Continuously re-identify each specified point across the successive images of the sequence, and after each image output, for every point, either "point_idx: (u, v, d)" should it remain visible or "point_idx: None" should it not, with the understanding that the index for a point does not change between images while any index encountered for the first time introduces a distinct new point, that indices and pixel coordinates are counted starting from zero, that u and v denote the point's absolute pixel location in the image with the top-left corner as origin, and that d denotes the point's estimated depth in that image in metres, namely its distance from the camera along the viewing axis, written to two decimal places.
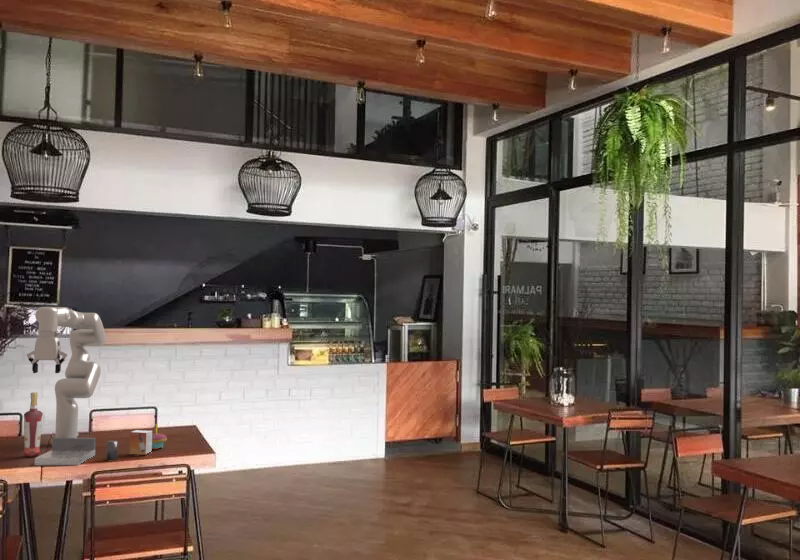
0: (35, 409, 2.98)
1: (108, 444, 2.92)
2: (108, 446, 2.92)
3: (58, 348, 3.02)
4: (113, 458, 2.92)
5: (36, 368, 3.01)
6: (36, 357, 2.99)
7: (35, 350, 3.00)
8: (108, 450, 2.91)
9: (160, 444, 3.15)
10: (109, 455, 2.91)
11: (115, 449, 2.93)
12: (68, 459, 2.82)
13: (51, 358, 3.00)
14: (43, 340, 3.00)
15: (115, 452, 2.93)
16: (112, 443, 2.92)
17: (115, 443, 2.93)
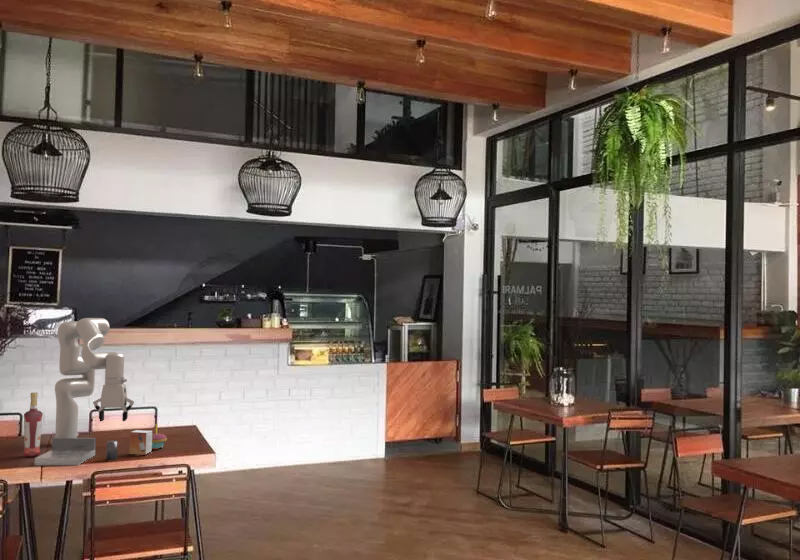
0: (35, 409, 2.98)
1: (108, 444, 2.92)
2: (108, 446, 2.92)
3: (125, 395, 2.94)
4: (113, 458, 2.92)
5: (102, 416, 2.94)
6: (103, 405, 2.92)
7: (102, 398, 2.92)
8: (108, 450, 2.91)
9: (160, 444, 3.15)
10: (109, 455, 2.91)
11: (115, 449, 2.93)
12: (68, 459, 2.82)
13: (118, 406, 2.92)
14: (110, 387, 2.92)
15: (115, 452, 2.93)
16: (112, 443, 2.92)
17: (115, 443, 2.93)
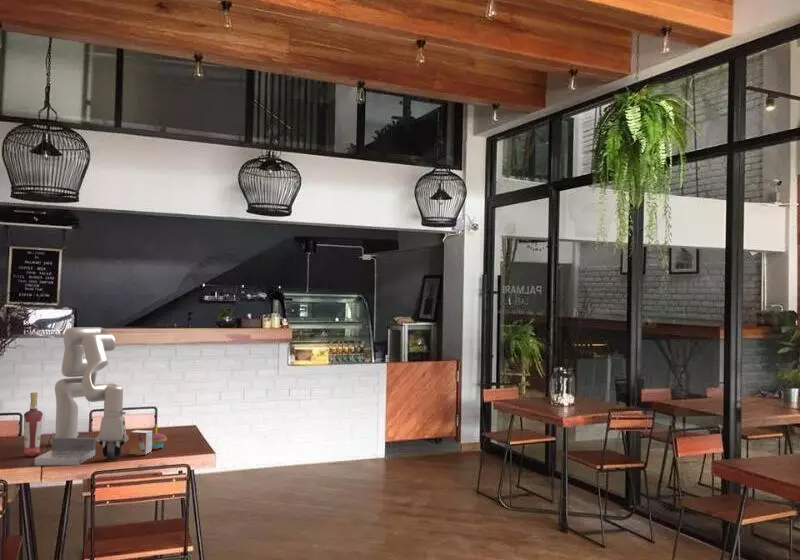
0: (35, 409, 2.98)
1: (108, 444, 2.92)
2: (108, 446, 2.92)
3: (123, 428, 2.94)
4: (113, 458, 2.92)
5: None
6: (102, 438, 2.91)
7: (100, 430, 2.91)
8: (108, 450, 2.91)
9: (160, 444, 3.15)
10: (109, 455, 2.91)
11: (115, 449, 2.93)
12: (68, 459, 2.82)
13: (117, 439, 2.92)
14: (109, 420, 2.91)
15: (115, 452, 2.93)
16: (112, 443, 2.92)
17: (115, 443, 2.93)
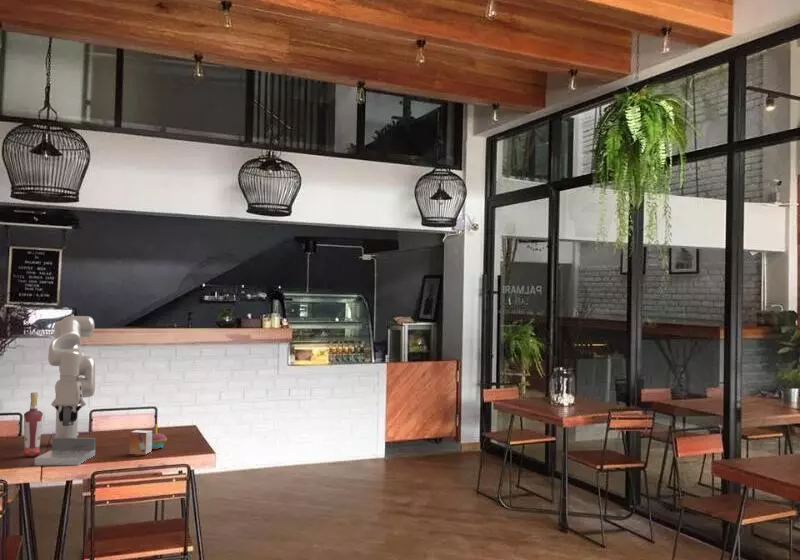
0: (35, 409, 2.98)
1: (64, 409, 2.90)
2: (64, 411, 2.90)
3: (80, 393, 2.92)
4: (69, 423, 2.90)
5: None
6: (57, 402, 2.90)
7: (56, 395, 2.90)
8: (64, 415, 2.90)
9: (160, 444, 3.15)
10: (65, 420, 2.90)
11: (71, 414, 2.91)
12: (68, 459, 2.82)
13: (73, 403, 2.90)
14: (65, 385, 2.90)
15: (71, 417, 2.91)
16: (68, 408, 2.90)
17: (71, 408, 2.91)
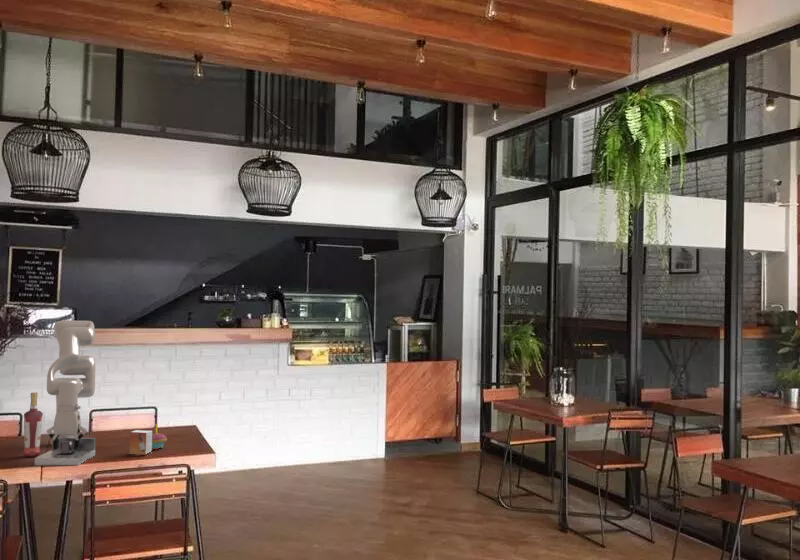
0: (35, 409, 2.98)
1: (62, 444, 2.89)
2: (62, 446, 2.89)
3: (78, 422, 2.92)
4: None
5: (57, 444, 2.91)
6: (56, 432, 2.89)
7: (55, 425, 2.89)
8: (62, 450, 2.89)
9: (160, 444, 3.15)
10: None
11: (69, 449, 2.90)
12: (68, 459, 2.82)
13: (71, 433, 2.90)
14: (63, 415, 2.89)
15: (69, 452, 2.90)
16: (66, 444, 2.89)
17: (69, 443, 2.90)
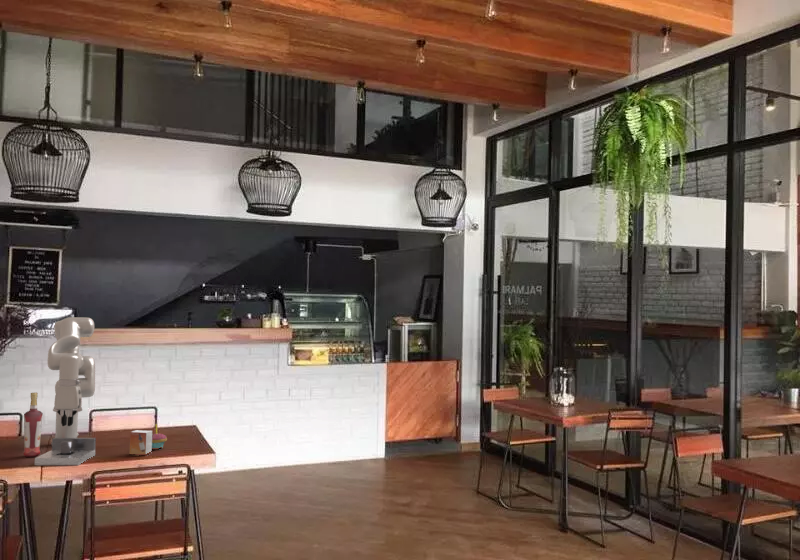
0: (35, 409, 2.98)
1: (62, 444, 2.89)
2: (62, 446, 2.89)
3: (79, 397, 2.92)
4: None
5: (65, 421, 2.92)
6: (57, 407, 2.90)
7: (56, 399, 2.90)
8: (62, 450, 2.89)
9: (160, 444, 3.15)
10: None
11: (69, 449, 2.90)
12: (68, 459, 2.82)
13: (72, 408, 2.90)
14: (64, 389, 2.90)
15: (69, 452, 2.90)
16: (66, 444, 2.89)
17: (69, 443, 2.90)
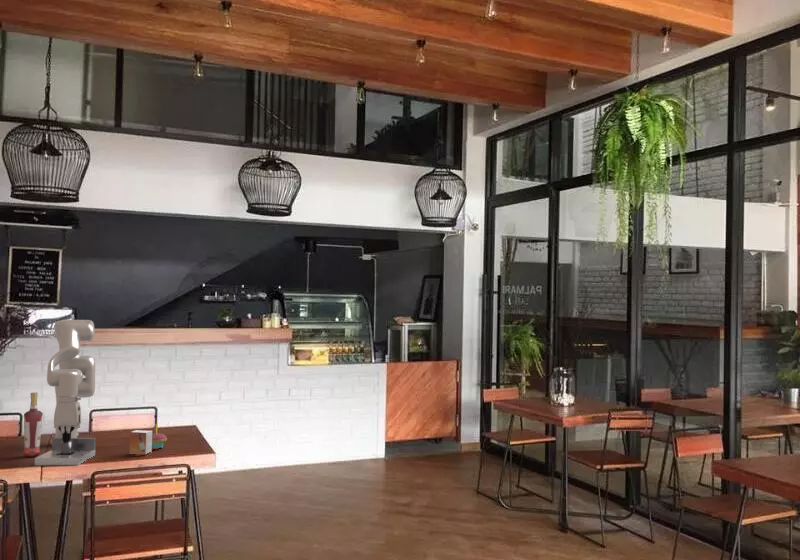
0: (35, 409, 2.98)
1: (62, 444, 2.89)
2: (62, 446, 2.89)
3: (78, 413, 2.92)
4: None
5: None
6: (56, 423, 2.89)
7: (55, 416, 2.89)
8: (62, 450, 2.89)
9: (160, 444, 3.15)
10: None
11: (69, 449, 2.90)
12: (68, 459, 2.82)
13: (71, 424, 2.90)
14: (63, 406, 2.89)
15: (69, 452, 2.90)
16: (66, 444, 2.89)
17: (69, 443, 2.90)
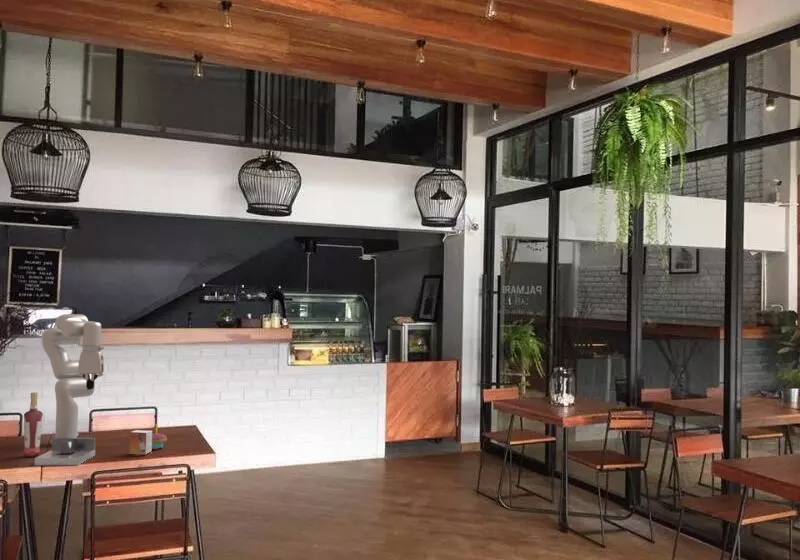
0: (35, 409, 2.98)
1: (62, 444, 2.89)
2: (62, 446, 2.89)
3: (101, 362, 3.07)
4: None
5: None
6: (80, 371, 3.04)
7: (79, 364, 3.04)
8: (62, 450, 2.89)
9: (160, 444, 3.15)
10: None
11: (69, 449, 2.90)
12: (68, 459, 2.82)
13: (95, 372, 3.05)
14: (87, 354, 3.04)
15: (69, 452, 2.90)
16: (66, 444, 2.89)
17: (69, 443, 2.90)
